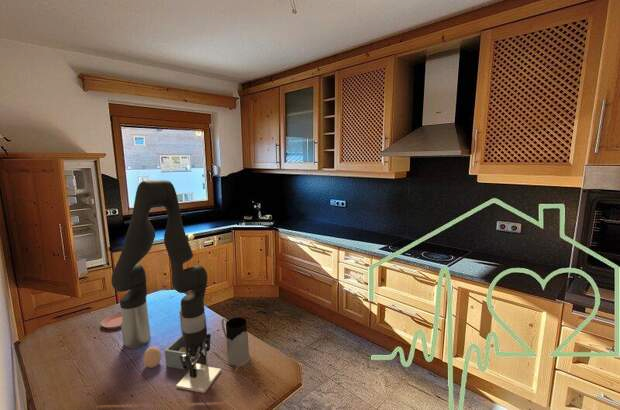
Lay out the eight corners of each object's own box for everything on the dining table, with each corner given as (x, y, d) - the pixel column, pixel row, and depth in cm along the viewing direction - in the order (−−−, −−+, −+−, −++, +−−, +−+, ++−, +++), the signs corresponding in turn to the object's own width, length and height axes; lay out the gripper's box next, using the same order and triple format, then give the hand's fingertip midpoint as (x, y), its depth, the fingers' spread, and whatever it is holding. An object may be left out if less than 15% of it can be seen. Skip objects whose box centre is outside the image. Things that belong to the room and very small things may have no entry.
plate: (128, 311, 153) (128, 307, 152) (142, 320, 144) (142, 316, 144) (96, 324, 141) (95, 320, 141) (109, 334, 133) (108, 330, 133)
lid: (176, 387, 101) (175, 374, 100) (195, 366, 111) (194, 354, 110) (204, 393, 98) (203, 379, 98) (221, 370, 108) (220, 358, 108)
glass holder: (235, 370, 109) (232, 332, 107) (214, 353, 119) (211, 318, 116) (255, 358, 116) (253, 321, 113) (233, 343, 125) (231, 309, 123)
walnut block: (177, 363, 113) (176, 353, 112) (182, 356, 116) (181, 347, 116) (188, 363, 113) (187, 353, 112) (192, 356, 117) (191, 346, 116)
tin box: (166, 367, 111) (164, 350, 110) (182, 351, 120) (181, 335, 119) (188, 371, 109) (186, 354, 108) (203, 355, 118) (202, 338, 117)
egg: (145, 363, 114) (142, 345, 113) (162, 359, 116) (160, 341, 115) (143, 373, 109) (141, 354, 107) (161, 368, 111) (159, 349, 110)
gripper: (197, 313, 109) (201, 356, 112) (169, 336, 95) (175, 384, 98) (216, 315, 107) (219, 359, 110) (190, 339, 94) (195, 388, 96)
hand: (198, 371), depth 104 cm, fingers open, 5 cm apart
